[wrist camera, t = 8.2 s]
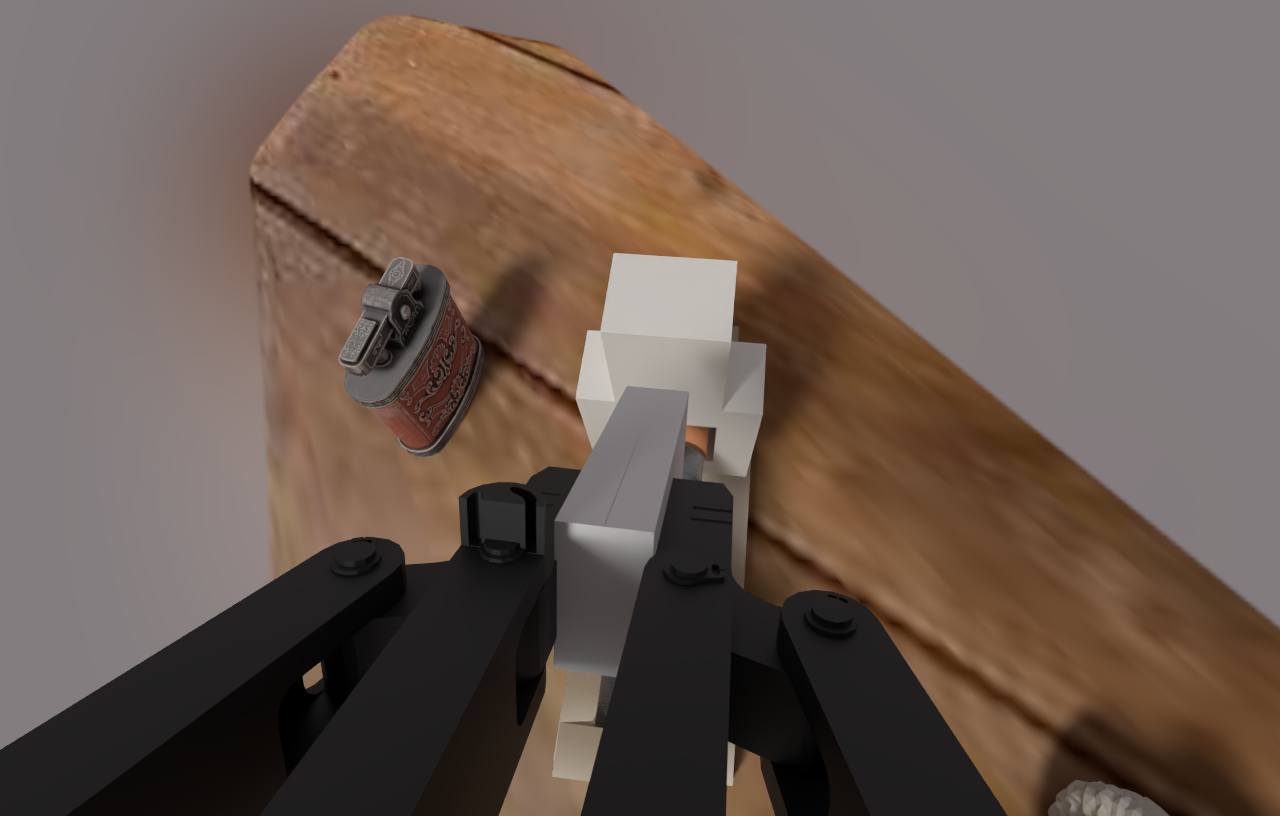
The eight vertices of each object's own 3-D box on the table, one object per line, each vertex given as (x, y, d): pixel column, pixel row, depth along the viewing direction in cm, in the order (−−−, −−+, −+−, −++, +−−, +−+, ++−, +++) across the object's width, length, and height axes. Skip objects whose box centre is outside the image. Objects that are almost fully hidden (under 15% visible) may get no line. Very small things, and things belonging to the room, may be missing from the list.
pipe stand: (730, 782, 30) (753, 813, 21) (558, 758, 31) (505, 777, 22) (751, 423, 38) (775, 323, 28) (612, 410, 39) (589, 309, 29)
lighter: (446, 333, 42) (381, 226, 32) (496, 345, 41) (443, 240, 32) (390, 449, 38) (300, 366, 29) (443, 464, 38) (368, 384, 29)
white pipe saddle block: (745, 476, 31) (781, 345, 20) (596, 462, 31) (552, 328, 21) (749, 417, 32) (784, 264, 21) (605, 405, 33) (568, 250, 22)
